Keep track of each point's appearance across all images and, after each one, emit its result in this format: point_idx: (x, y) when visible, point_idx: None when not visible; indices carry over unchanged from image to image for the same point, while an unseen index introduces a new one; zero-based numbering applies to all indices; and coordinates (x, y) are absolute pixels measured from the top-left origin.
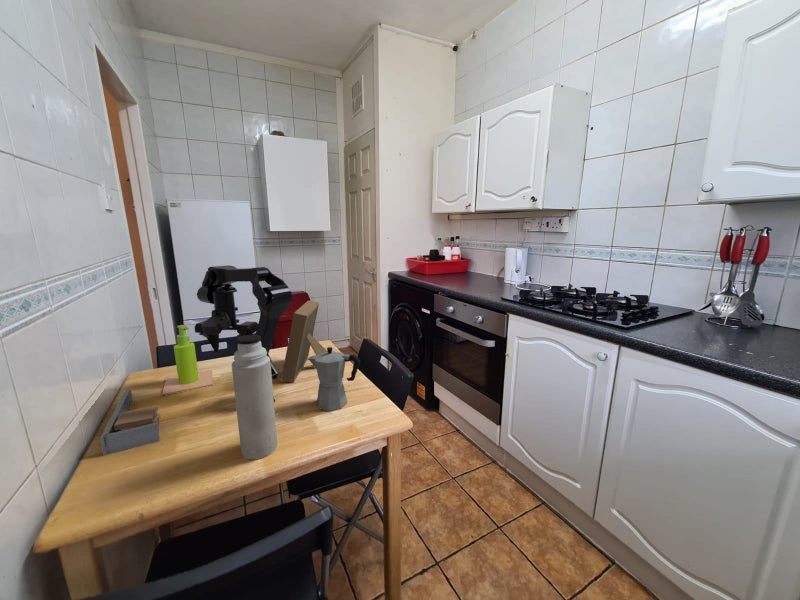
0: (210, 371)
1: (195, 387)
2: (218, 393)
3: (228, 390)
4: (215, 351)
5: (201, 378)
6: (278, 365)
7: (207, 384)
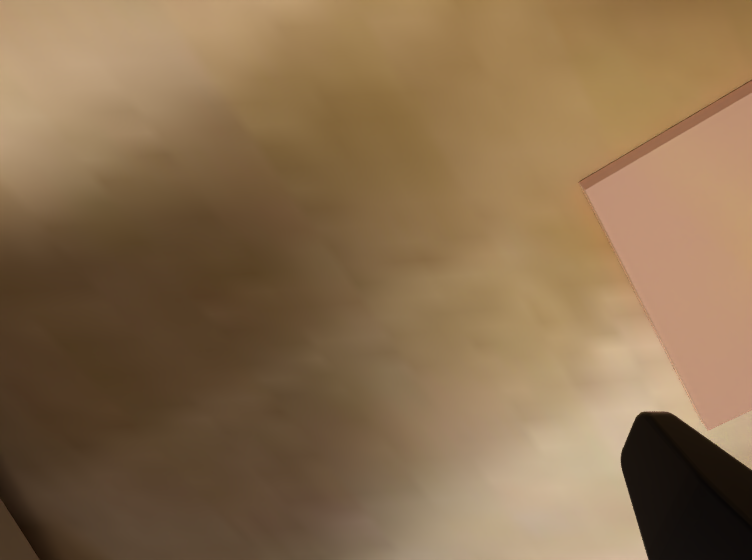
0: (706, 402)
1: (731, 104)
2: (431, 15)
3: (358, 92)
4: (664, 421)
5: (738, 283)
6: (192, 550)
7: (632, 175)
